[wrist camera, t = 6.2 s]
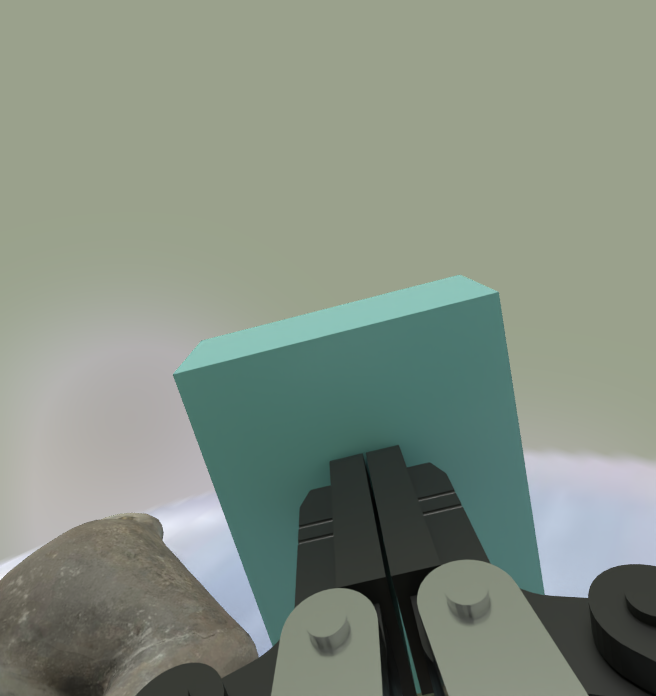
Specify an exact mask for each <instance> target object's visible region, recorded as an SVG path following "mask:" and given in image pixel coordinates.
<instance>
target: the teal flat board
mask: <svg viewBox="0 0 656 696" xmlns="http://www.w3.org/2000/svg"><path fill="white" fill-rule="evenodd" d="M173 376H174V379H175V382H176V385H177V387H178V390H179V393H180V395H181V398H182V401H183V404H184V406H185V409H186V412H187V414H188V417H189V420H190V422H191V425H192V428H193V430H194V433H195V436H196V439H197V441H198V444H199V447H200V450H201V452H202V455H203V458H204V461H205V463H206V466H207V469H208V472H209V474H210V477H211V480H212V482H213V485H214V488H215V491H216V493H217V496H218V499H219V502H220V504H221V507H222V510H223V512H224V515H225V518H226V521H227V523H228V526H229V529H230V531H231V534H232V537H233V540H234V542H235V545H236V548H237V550H238V553H239V556H240V559H241V561H242V564H243V567H244V570H245V572H246V575H247V578H248V580H249V583H250V586H251V589H252V591H253V594H254V597H255V599H256V602H257V605H258V608H259V610H260V613H261V616H262V618H263V621H264V624H265V627H266V629H267V632H268V635H269V638H270V640H271V643H272V646H274V645H275V644H276V643H277V642H278V641H279V639H280V637H281V632H282V628H283V626H284V624H285V621H286V620H287V618H288V616H289V615H290V613H291V612H292V611H293V610H294V606H295V588H296V568H297V549H298V545H299V543H298V530H299V510H300V506H301V504H302V503H303V501H304V499H305V498H306V496H307V494H308V493H309V491H310V490H312V489H317V488H321V487H325V486H329V485H331V483H330V465H329V462H330V461H331V460H336V459H340V458H344V457H348V456H353V455H357V454H361V453H363V456H364V460H365V464H366V468H367V472H368V475H369V479H370V483H371V487H372V491H373V495H374V490H373V486H372V481H371V476H370V471H369V466H368V461H367V456H366V452H370V451H374V450H378V449H383V448H387V447H391V446H395V445H399V447H400V449H401V452H402V455H403V458H404V461H405V463H406V466H407V467H411V466H415V465H419V464H424V463H428V462H430V463H432V464H433V465H435V466H436V467H438V468H439V469H441V470H442V471H444V472H445V473H446V474H447V476H448V478H449V480H450V482H451V484H452V486H453V488H454V490H455V493H456V494H457V496H458V498H459V500H460V502H461V505H462V507H463V508H464V510H465V512H466V514H467V516H468V518H469V520H470V522H471V524H472V526H473V528H474V530H475V533H476V535H477V537H478V539H479V541H480V543H481V545H482V547H483V549H484V551H485V553H486V555H487V557H488V559H489V561H490V563H491V564H492V565H495V566H497V567H499V568H500V569H502V570H503V571H505V572H506V573H507V574H508V575H510V576H511V577H512V579H513V580H514V581H515V582H516V584H517V585H518V587H519V588H521V589H523V590H526V591H529V592H532V593H536V594H541V595H545V594H544V587H543V581H542V574H541V568H540V561H539V554H538V548H537V541H536V535H535V528H534V521H533V515H532V508H531V502H530V495H529V489H528V482H527V475H526V469H525V462H524V456H523V449H522V443H521V436H520V429H519V423H518V416H517V411H516V404H515V396H514V391H513V383H512V377H511V370H510V364H509V357H508V351H507V344H506V337H505V331H504V324H503V318H502V311H501V304H500V298H499V292H497V291H495V290H493V289H490V288H488V287H486V286H484V285H482V284H480V283H477V282H475V281H473V280H471V279H468V278H466V277H464V276H462V275H457V276H453V277H450V278H445V279H441V280H437V281H433V282H429V283H426V284H422V285H418V286H414V287H410V288H406V289H402V290H398V291H395V292H391V293H386V294H383V295H379V296H375V297H371V298H367V299H363V300H359V301H355V302H351V303H347V304H343V305H339V306H335V307H332V308H328V309H324V310H320V311H316V312H312V313H308V314H304V315H300V316H296V317H292V318H289V319H284V320H281V321H277V322H273V323H269V324H265V325H261V326H257V327H253V328H249V329H245V330H241V331H238V332H233V333H230V334H226V335H222V336H218V337H214V338H210V339H206V340H203V341H201V342H200V343H199V344H198V345H197V347H196V348H195V349H194V350H193V351H192V352H191V354H190V355H189V356H188V357H187V358H186V359H185V361H184V362H183V363H182V364H181V365H180V366H179V368H178V369H177V370H176V371H175V372H174V374H173ZM374 499H375V495H374ZM375 503H376V500H375ZM376 507H377V505H376ZM398 606H399V605H398ZM399 611H400V608H399ZM400 616H401V612H400ZM401 621H402V625H403V630H404V635H405V640H406V645H407V649H408V654H409V659H410V664H411V669H412V673H413V678H414V683H415V688H416V693H417V694H418V693H421V689H420V685H419V681H418V678H417V674H416V670H415V666H414V662H413V658H412V655H411V651H410V647H409V643H408V639H407V635H406V631H405V628H404V624H403V620H402V616H401Z"/></svg>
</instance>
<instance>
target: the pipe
mask: <svg viewBox="0 0 656 696" xmlns="http://www.w3.org/2000/svg"><path fill="white" fill-rule="evenodd" d="M162 539H163V528H162V525H161V523H160V522H159V520H158V519H156V518H155V517H153V516H150V515H148V514H142V513H124V514H117V515H113V516H109V517H106V518H104V519H102V520H95V521H91V522H87V523H84V524H82V525H79V526H77V527H74V528H72V529H71V530H69V531H67V532H65V533H63V534H62V535H60V536H58V537H57V538H55V539H54V540H52V541H50V542H49V543H47V544H46V545H44V546H43V547H41V548H40V549H38V550H37V551H35V552H34V553H32V554H31V555H30V556H28V557H27V558H26V559H24V560H23V561H22V562H21V563H19V564H18V565H17V566H16V567H15V568H13V569H12V570H11V571H10V572H8V573H7V574H6V575H5V576H4V577H3V578H2V579H1V580H0V696H135V695H136V694H137V693H138V692H139V691H140V690H141V689H142V688H143V687H144V686H146V685H147V684H148V683H149V682H150V681H151V680H153V679H154V678H155V677H157V676H158V675H160V674H161V673H163V672H165V671H166V670H168V669H171V668H173V667H175V666H178V665H181V664H185V663H203V664H207V665H209V666H211V667H212V668H214V669H215V670H216V671H217V672H218V674H219V675H220V677H221V678H223V677H225V676H227V675H228V674H230V673H232V672H234V671H236V670H238V669H240V668H241V667H243V666H245V665H247V664H249V663H251V662H253V661H254V660H256V659H257V658H258V653H257V649H256V646H255V644H254V642H253V641H252V639H251V637H250V636H249V634H248V633H247V632H246V631H245V630H244V629H243V628H242V627H241V626H240V625H239V624H238V623H237V622H236V621H235V620H234V619H233V618H232V617H231V616H230V615H229V614H228V613H227V612H226V611H225V610H224V609H223V608H222V607H221V606H220V604H219V603H218V602H217V601H216V600H215V599H214V598H213V597H212V596H211V594H210V593H209V592H208V591H207V590H206V589H205V588H204V587H203V586H202V585H201V583H200V582H199V581H198V580H197V579H196V578H195V577H194V576H193V575H192V574H191V573H190V572H189V571H188V570H187V568H186V567H185V566H184V565H183V564H182V563H181V562H180V560H179V559H178V558H177V557H176V556H175V555H174V554H173V553H172V552H171V550H170V549H169V548H168V547H167V546H166V545H165V544H164V542H163V541H162Z"/></svg>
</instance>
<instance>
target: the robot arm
mask: <svg viewBox="0 0 656 696" xmlns="http://www.w3.org/2000/svg"><path fill="white" fill-rule="evenodd" d="M366 456H367V461H368V466H369V471H370V476H371V481H372V486H373V490H374V495H375V499H374V495H373V491H372V487H371V483H370V479H369V475H368V472H367V468H366V464H365V460H364V456H363V453H361V454H357V455H353V456H348V457H344V458H340V459H336V460H331V461H330V462H329V465H330V483H331V485H329V486H325V487H321V488H317V489H312V490H310V491H309V493H308V494H307V496H306V498H305V499H304V501H303V503H302V504H301V506H300V510H299V530H298V543H299V545H298V549H297V568H296V588H295V606H294V610H293V611H292V612H291V613H290V615H289V616H288V618H287V620H286V621H285V624H284V626H283V628H282V632H281V637H280V639H279V641H278V642H277V643H276V644H275V645H274V646H273V647H272V648H271V649H270V650H269V651H267V652H266V653H265V654H263V655H262V656H261V657H259V658H257V659H256V660H254V661H253V662H251V663H249V664H247V665H245V666H243V667H241V668H240V669H238V670H236V671H234V672H232V673H230V674H228V675H227V676H225V677H223V678H221V677H220V675H219V674H218V672H217V671H216V670H215V669H214V668H212V667H211V666H209V665H207V664H203V663H185V664H181V665H178V666H175V667H173V668H171V669H168V670H166V671H165V672H163V673H161V674H160V675H158V676H157V677H155V678H154V679H153V680H151V681H150V682H149V683H148V684H147V685H146V686H144V687H143V688H142V689H141V690H140V691H139V692H138V693H137V694H136V695H135V696H417V693H416V688H415V683H414V678H413V673H412V669H411V664H410V659H409V654H408V649H407V645H406V640H405V635H404V630H403V625H402V621H401V616H402V620H403V624H404V628H405V631H406V635H407V639H408V643H409V647H410V651H411V655H412V658H413V662H414V666H415V670H416V674H417V678H418V681H419V685H420V689H421V693H422V695H426V694H431V693H434V695H435V696H656V566H651V565H642V564H629V565H621V566H617V567H613V568H610V569H608V570H606V571H604V572H602V573H601V574H600V575H598V576H597V577H596V578H595V580H594V581H593V582H592V584H591V586H590V589H589V594H588V598H578V597H561V596H548V595H541V594H536V593H532V592H529V591H526V590H523V589H521V588H519V587H518V585H517V584H516V582H515V581H514V580H513V579H512V577H511V576H510V575H508V574H507V573H506V572H505V571H503V570H502V569H500V568H499V567H497V566H495V565H492V564H491V563H490V561H489V559H488V557H487V555H486V553H485V551H484V549H483V547H482V545H481V543H480V541H479V539H478V537H477V535H476V533H475V530H474V528H473V526H472V524H471V522H470V520H469V518H468V516H467V514H466V512H465V510H464V508H463V507H462V505H461V502H460V500H459V498H458V496H457V494H456V493H455V490H454V488H453V486H452V484H451V482H450V480H449V478H448V476H447V474H446V473H445V472H444V471H442V470H441V469H439V468H438V467H436V466H435V465H433V464H432V463H430V462H428V463H424V464H419V465H415V466H411V467H407V466H406V463H405V461H404V458H403V455H402V452H401V449H400V447H399V445H395V446H391V447H387V448H383V449H378V450H374V451H370V452H366ZM375 500H376V503H375ZM376 505H377V507H376ZM398 605H399V606H398ZM399 608H400V611H399ZM400 612H401V616H400Z"/></svg>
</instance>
